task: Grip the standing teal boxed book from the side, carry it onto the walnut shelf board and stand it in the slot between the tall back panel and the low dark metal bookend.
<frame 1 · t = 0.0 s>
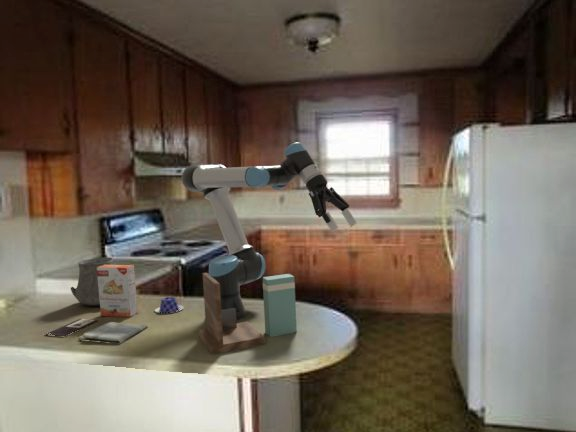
hand: (345, 227, 167), 36 cm above the counter, tool tilted 35°, fingers open, 13 cm apart
book: (280, 332, 167), on the counter
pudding: (169, 311, 200), on the counter
shelf: (234, 340, 160), on the counter
chocolate bar: (72, 329, 181), on the counter
bookend: (222, 318, 165), point 6 cm above the counter
cracker box: (119, 315, 195), on the counter
vessel: (100, 303, 214), on the counter
dish towel: (113, 336, 172), on the counter
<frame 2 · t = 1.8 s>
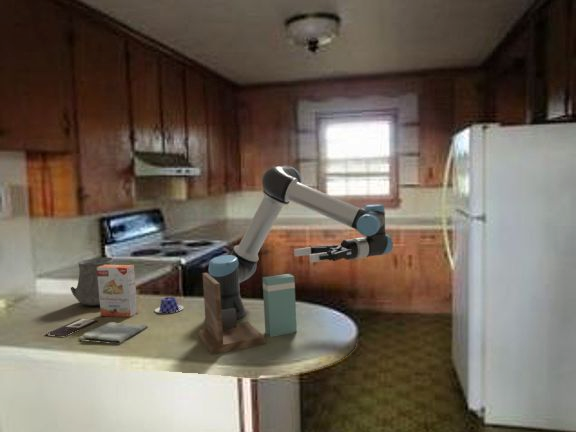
hand: (301, 255, 168), 26 cm above the counter, tool horizontal, fingers open, 13 cm apart
nothing on the counter moved.
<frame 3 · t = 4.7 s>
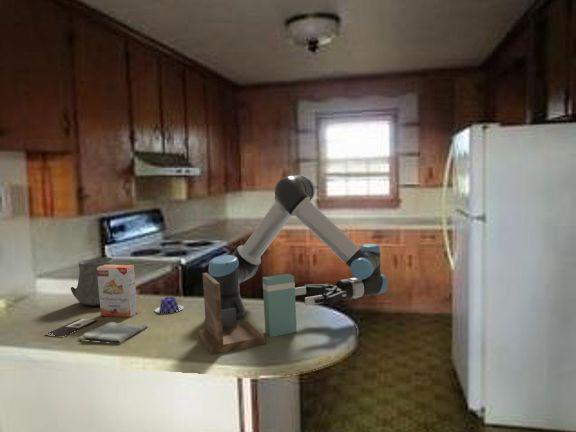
hand: (297, 297, 168), 12 cm above the counter, tool horizontal, fingers open, 13 cm apart
nothing on the counter moved.
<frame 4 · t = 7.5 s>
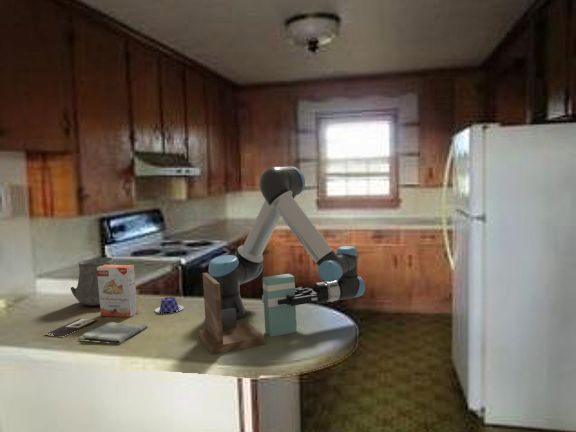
hand: (265, 301, 163), 12 cm above the counter, tool horizontal, fingers closed on book, 5 cm apart
book: (280, 332, 167), on the counter, touching gripper
everything else where it was.
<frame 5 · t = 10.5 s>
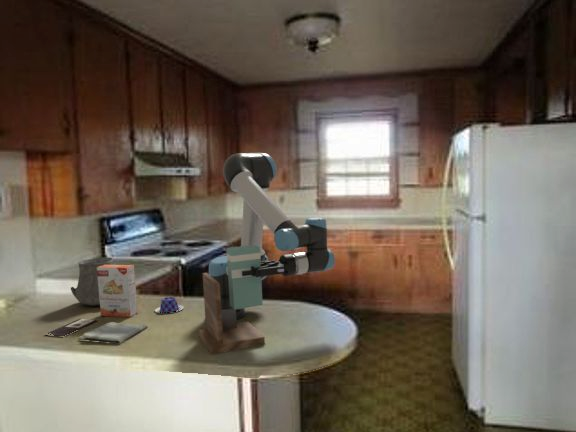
hand: (229, 272, 156), 24 cm above the counter, tool horizontal, fingers closed on book, 5 cm apart
book: (246, 305, 160), point 12 cm above the counter, touching gripper
everything else where it was.
when the fingers open (16 cm above the counter, at t = 13.5 s): book drops 2 cm, resting on shelf.
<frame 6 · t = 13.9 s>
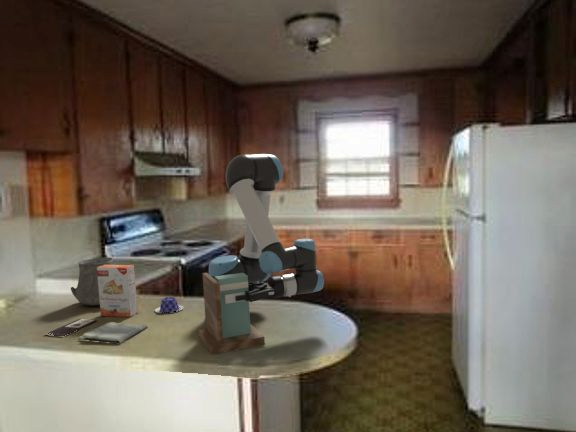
hand: (220, 295, 157), 16 cm above the counter, tool horizontal, fingers open, 11 cm apart
book: (234, 333, 160), point 2 cm above the counter, touching shelf
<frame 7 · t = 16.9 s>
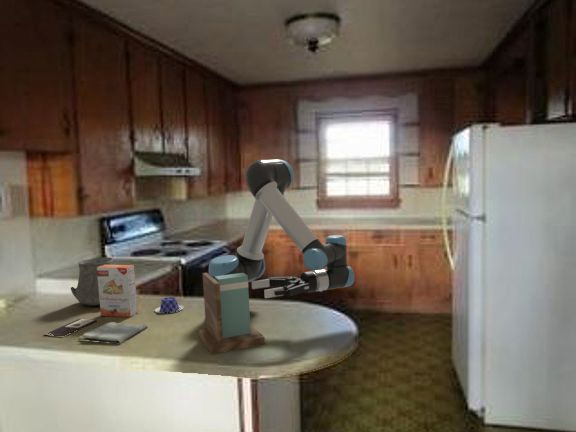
hand: (257, 289, 162), 17 cm above the counter, tool horizontal, fingers open, 13 cm apart
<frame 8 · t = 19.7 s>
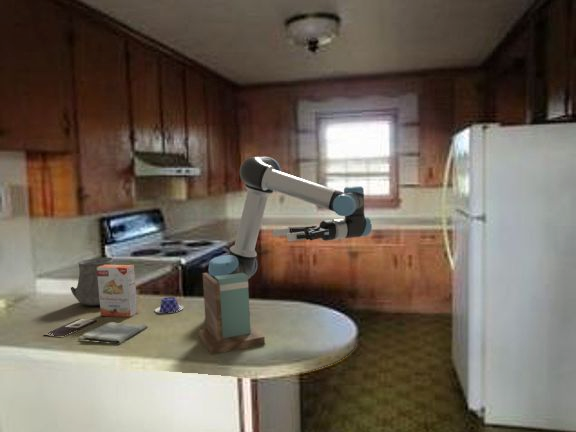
hand: (279, 235, 168), 34 cm above the counter, tool horizontal, fingers open, 13 cm apart
at the end: book 0.0 cm from the target spot, point 2.5 cm above the counter; book tilted 0°; the gripper is holding nothing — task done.
